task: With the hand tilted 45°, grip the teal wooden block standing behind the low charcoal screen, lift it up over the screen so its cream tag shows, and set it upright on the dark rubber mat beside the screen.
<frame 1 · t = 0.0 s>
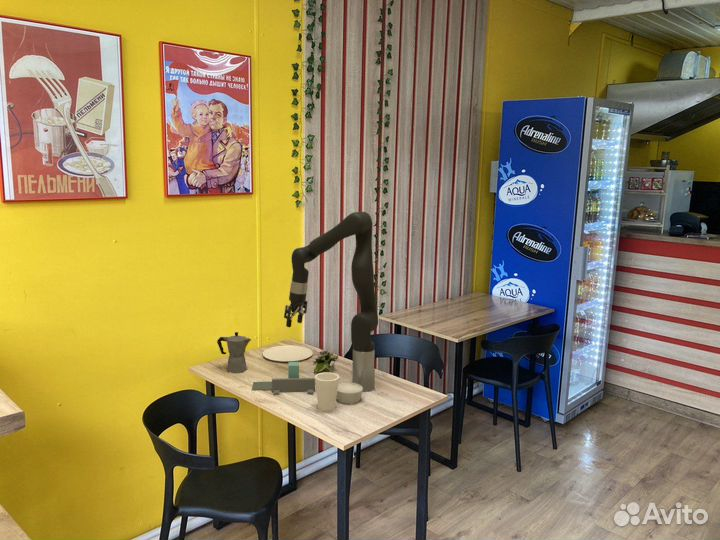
hand: (294, 324, 254), 22 cm above the table, tool pointing down, fingers open, 8 cm apart
mat: (263, 386, 239), on the table
screen: (293, 391, 235), on the table
coffeepot: (234, 370, 258), on the table
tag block: (293, 386, 241), on the table
passion flower: (326, 371, 260), on the table
plate: (287, 356, 281), on the table
foam cup: (326, 408, 219), on the table
ramekin: (348, 400, 228), on the table
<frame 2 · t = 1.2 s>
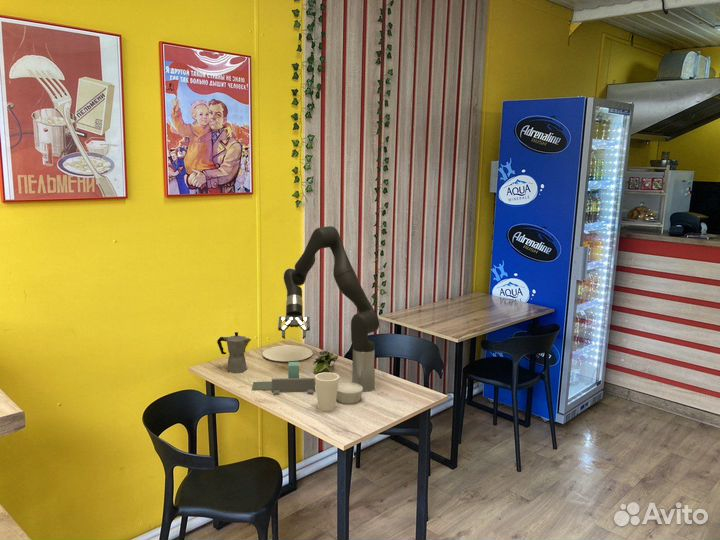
hand: (293, 338, 249), 18 cm above the table, tool tilted 45°, fingers open, 8 cm apart
nothing on the table moved.
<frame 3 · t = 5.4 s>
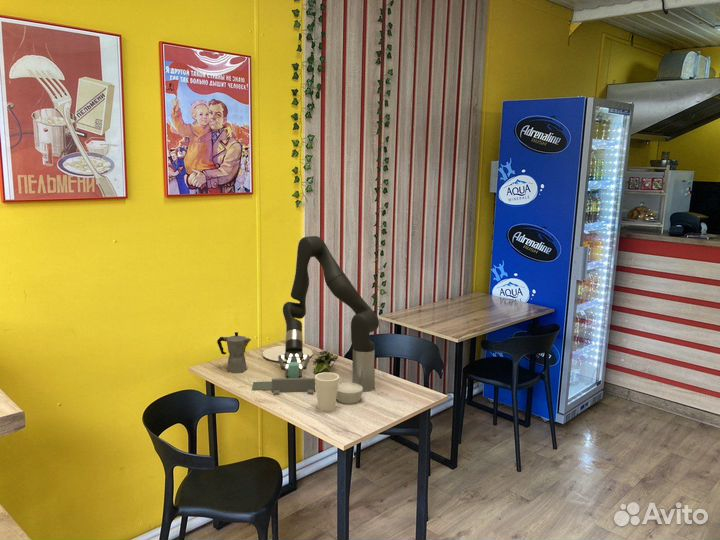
hand: (293, 377, 238), 4 cm above the table, tool tilted 45°, fingers closed on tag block, 4 cm apart
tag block: (293, 385, 241), on the table, touching gripper
everything else where it was.
when the fingers open (6 cm above the table, at t = 11.1 s): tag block drops 1 cm, resting on mat.
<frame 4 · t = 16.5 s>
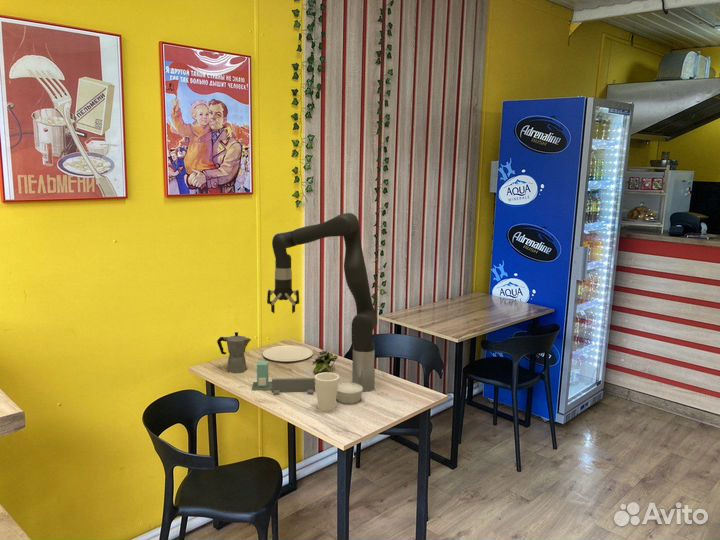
hand: (283, 312, 252), 28 cm above the table, tool pointing down, fingers open, 8 cm apart
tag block: (262, 385, 239), resting on mat
everything else where it was.
at the end: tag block inside the target area on the mat (0.1 cm from its centre), point 0.4 cm above the mat's base; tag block tilted 0°; the gripper is holding nothing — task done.
